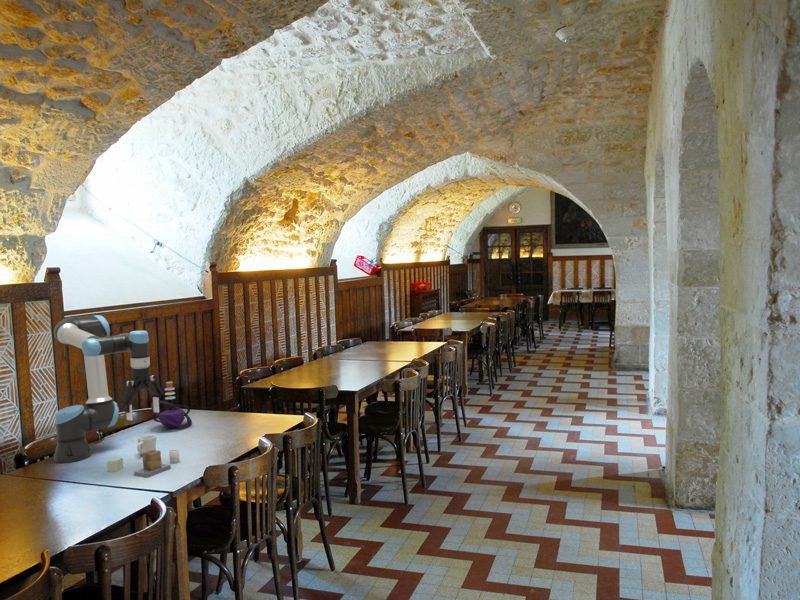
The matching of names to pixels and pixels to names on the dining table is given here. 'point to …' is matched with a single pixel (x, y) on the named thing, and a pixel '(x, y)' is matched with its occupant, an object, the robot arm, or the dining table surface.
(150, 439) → the cup
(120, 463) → the sage cube
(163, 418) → the decorative bottle
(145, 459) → the walnut block
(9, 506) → the dining table surface
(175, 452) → the stone cylinder
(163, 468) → the slate board
